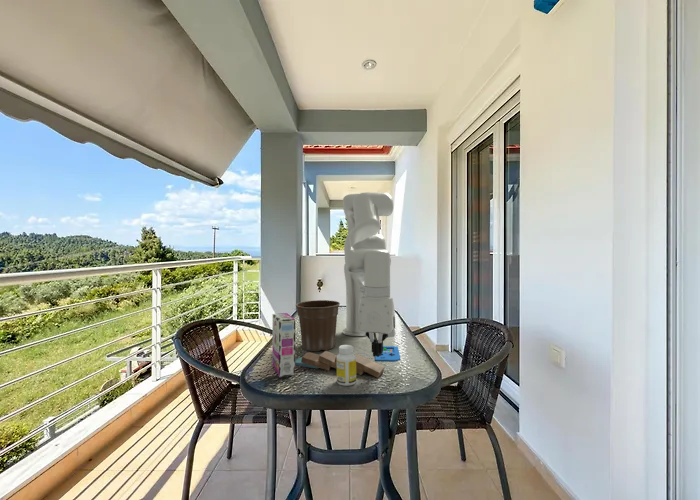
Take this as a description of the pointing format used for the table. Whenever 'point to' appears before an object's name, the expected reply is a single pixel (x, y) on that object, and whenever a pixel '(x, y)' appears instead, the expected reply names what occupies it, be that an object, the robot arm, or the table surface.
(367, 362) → the walnut domino
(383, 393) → the table surface
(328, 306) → the plant pot
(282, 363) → the candy bar box
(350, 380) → the supplement bottle
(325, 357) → the walnut domino
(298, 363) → the domino teal end
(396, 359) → the handheld gaming device
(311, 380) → the table surface
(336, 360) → the walnut domino
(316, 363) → the walnut domino
